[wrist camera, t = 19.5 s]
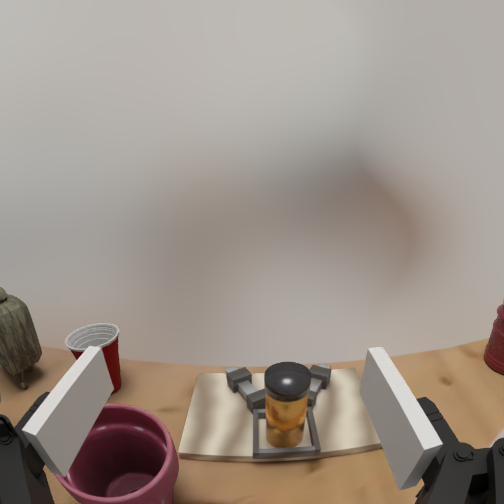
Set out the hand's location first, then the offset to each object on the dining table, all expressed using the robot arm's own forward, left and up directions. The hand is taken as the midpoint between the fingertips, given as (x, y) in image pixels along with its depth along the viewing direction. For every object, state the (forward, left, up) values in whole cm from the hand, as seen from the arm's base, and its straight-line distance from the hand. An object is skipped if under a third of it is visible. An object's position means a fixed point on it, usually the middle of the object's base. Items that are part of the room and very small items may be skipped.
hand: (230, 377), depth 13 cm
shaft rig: (+5, +25, -28) cm, 38 cm away
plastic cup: (-28, +30, -28) cm, 50 cm away
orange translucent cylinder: (+5, +19, -26) cm, 33 cm away
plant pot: (-14, +6, -28) cm, 32 cm away
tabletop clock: (-50, +28, -28) cm, 64 cm away
